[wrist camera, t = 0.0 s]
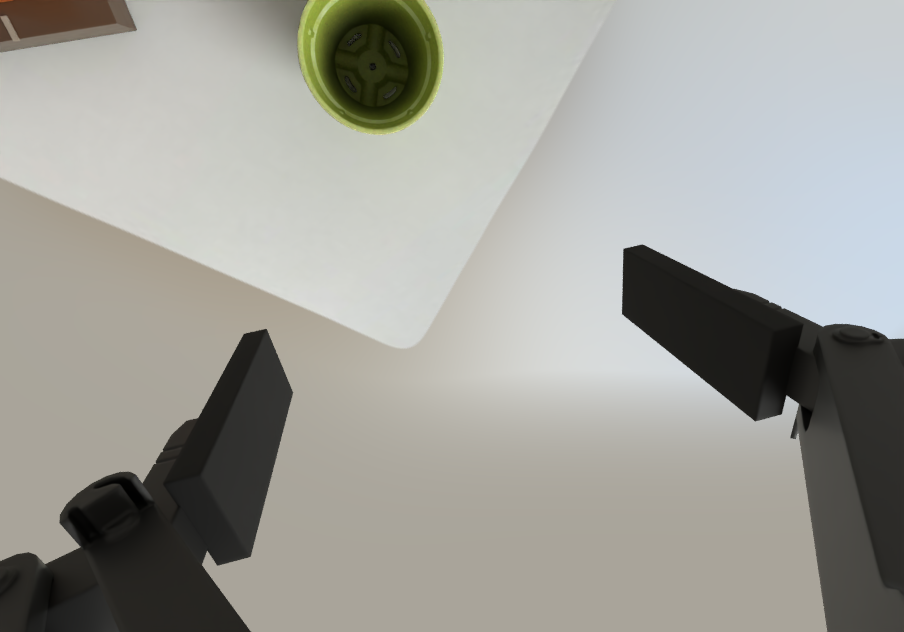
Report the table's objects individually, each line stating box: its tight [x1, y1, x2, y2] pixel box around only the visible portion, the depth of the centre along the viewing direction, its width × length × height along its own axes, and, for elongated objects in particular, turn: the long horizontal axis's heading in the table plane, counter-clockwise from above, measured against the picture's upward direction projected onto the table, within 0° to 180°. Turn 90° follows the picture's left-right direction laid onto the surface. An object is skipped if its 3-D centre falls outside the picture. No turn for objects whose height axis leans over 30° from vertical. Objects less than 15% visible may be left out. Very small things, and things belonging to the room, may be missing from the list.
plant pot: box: [297, 0, 444, 135], centre depth 32 cm, size 9×9×9 cm
